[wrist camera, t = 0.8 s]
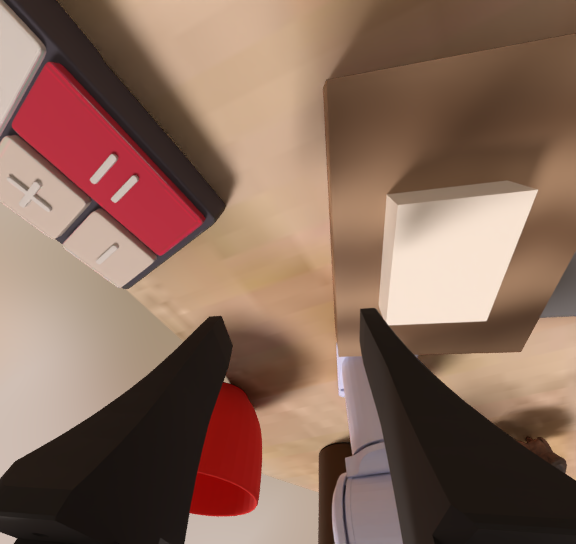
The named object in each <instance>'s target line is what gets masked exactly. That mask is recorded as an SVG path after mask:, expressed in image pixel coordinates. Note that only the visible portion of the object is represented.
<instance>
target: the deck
mask: <svg viewBox="0 0 576 544" xmlns="http://www.w3.org/2000/svg"><path fill="white" fill-rule="evenodd" d="M323 97H324V117H325V136H326V156H327V176H328V195H329V215H330V235H331V255H332V274H333V294H334V314H335V330H336V338H337V346H338V355H339V357H353V356H362V354H361V348H360V342H359V337H360V309H363V308H375V309H377V310H378V312H379V313H380V315H381V316H382V314H381V311H380V308H379V292H380V279H381V265H382V252H383V238H384V224H385V211H386V197H387V194H395V193H404V192H412V191H421V190H429V189H438V188H447V187H455V186H464V185H472V184H481V183H490V182H498V181H507V180H508V181H511V182H514V183H518V184H521V185H524V186H528V187H531V188H534V189H538V192H537V194H536V197H535V199H534V202H533V204H532V207H531V210H530V212H529V215H528V217H527V220H526V222H525V225H524V227H523V230H522V232H521V235H520V237H519V240H518V243H517V245H516V248H515V250H514V253H513V255H512V258H511V260H510V263H509V265H508V268H507V271H506V273H505V276H504V278H503V281H502V283H501V286H500V288H499V291H498V293H497V296H496V299H495V301H494V304H493V306H492V309H491V311H490V314H489V316H488V319H487V321H479V322H456V323H433V324H410V325H389V326H390V328H391V329H392V330H393V331H394V333H395V334H396V335H397V336H398V337H399V338H400V340H401V341H402V342H403V343H404V344H405V345H406V346H407V348H408V349H409V350H410V351H411V352H412V353H413V354H414V355H428V354H466V353H503V352H521V351H522V349H523V347H524V345H525V343H526V342H527V340H528V338H529V336H530V334H531V332H532V331H533V329H534V327H535V325H536V323H537V321H538V319H539V318H540V316H541V314H542V312H543V310H544V308H545V307H546V305H547V303H548V301H549V299H550V297H551V295H552V294H553V292H554V290H555V288H556V286H557V284H558V283H559V281H560V279H561V277H562V275H563V273H564V272H565V270H566V268H567V266H568V264H569V262H570V260H571V259H572V257H573V255H574V253H575V251H576V33H574V34H569V35H563V36H558V37H553V38H547V39H542V40H537V41H531V42H526V43H521V44H515V45H510V46H504V47H499V48H494V49H488V50H483V51H478V52H472V53H467V54H462V55H456V56H451V57H446V58H440V59H435V60H430V61H424V62H419V63H413V64H408V65H403V66H397V67H392V68H387V69H381V70H376V71H371V72H365V73H360V74H355V75H349V76H344V77H338V78H333V79H328V80H326V82H325V85H324V88H323Z"/></svg>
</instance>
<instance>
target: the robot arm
mask: <svg viewBox="0 0 576 544" xmlns="http://www.w3.org/2000/svg"><path fill="white" fill-rule="evenodd" d="M359 342H360V348H361V354H362V356H353V357H339V355H338V346H337V342H336V351H337V371H338V390H339V396H341V397H345V401H346V409H347V417H348V425H349V433H350V441H351V449H352V456H350V457H346V458H345V463H346V473H343V474H341V475H340V477H339V479H338V481H337V484H336V487H335V490H334V494H333V500H332V524H333V534H334V541H335V544H576V481H575V480H574V479H572V478H571V477H569V476H568V475H566V474H565V473H563V472H562V471H560V470H559V469H557V468H556V467H554V466H553V465H551V464H550V463H548V462H547V461H545V460H544V459H542V458H541V457H539V456H538V455H536V454H535V453H533V452H532V451H530V450H529V449H527V448H526V447H524V446H523V445H522V444H520V443H519V442H517V441H516V440H515V439H513V438H512V437H510V436H509V435H508V434H506V433H505V432H504V431H502V430H501V429H499V428H498V427H497V426H495V425H494V424H493V423H492V422H490V421H489V420H488V419H487V418H485V417H484V416H483V415H481V414H480V413H479V412H478V411H476V410H475V409H474V408H472V407H471V406H470V405H469V404H467V403H466V402H465V401H464V400H462V399H461V398H460V397H459V396H458V395H457V394H455V393H454V392H453V391H452V390H451V389H449V388H448V387H447V386H446V385H445V384H444V383H443V382H442V381H441V380H439V379H438V378H437V377H436V376H435V375H434V374H433V373H432V372H431V371H430V370H429V369H428V368H427V367H426V366H425V365H424V364H423V363H422V362H421V361H420V360H419V359H418V355H414V354H413V353H412V352H411V351H410V350H409V349H408V348H407V346H406V345H405V344H404V343H403V342H402V341H401V340H400V338H399V337H398V336H397V335H396V334H395V333H394V331H393V330H392V329H391V328H390V326H389V325H388V324H387V323H386V321H385V320H384V319H383V317H382V316H381V315H380V313H379V312H378V310H377V309H375V308H363V309H360V337H359ZM232 347H233V345H232V343H231V340H230V337H229V335H228V332H227V329H226V327H225V324H224V321H223V319H222V316H213V317H209V318H207V319H206V320H205V321H204V322H203V323H202V324H201V325H200V326H199V327H198V328H197V329H196V330H195V331H194V332H193V333H192V334H191V335H190V336H189V337H188V338H187V339H186V340H185V341H184V342H183V343H182V344H181V345H180V346H179V347H178V348H177V349H176V350H175V351H174V352H173V353H172V354H171V355H169V356H168V357H167V358H166V359H165V360H164V361H163V362H162V363H161V364H159V365H158V366H157V367H156V368H155V369H154V370H153V371H152V372H150V373H149V374H148V375H147V376H146V377H144V378H143V379H142V380H141V381H139V382H138V383H137V384H136V385H134V386H133V387H132V388H130V389H129V390H128V391H126V392H125V393H124V394H122V395H121V396H120V397H118V398H117V399H115V400H114V401H113V402H111V403H110V404H108V405H107V406H105V407H104V408H103V409H101V410H100V411H98V412H97V413H95V414H94V415H92V416H91V417H89V418H88V419H86V420H85V421H83V422H82V423H80V424H78V425H77V426H75V427H74V428H72V429H70V430H69V431H67V432H66V433H64V434H62V435H61V436H59V437H57V438H56V439H54V440H52V441H50V442H48V443H47V444H45V445H43V446H41V447H40V448H38V449H36V450H35V451H33V452H31V453H29V454H27V455H26V456H24V457H22V458H20V459H18V460H17V461H15V462H14V463H13V464H12V465H11V467H10V468H9V469H8V470H7V471H6V472H5V474H4V475H3V476H2V477H1V478H0V532H2V533H5V534H7V535H10V536H12V537H15V538H17V540H16V541H15V543H14V544H184V542H185V536H186V530H187V524H188V518H189V513H190V507H191V502H192V497H193V492H194V486H195V481H196V476H197V472H198V467H199V463H200V458H201V454H202V449H203V445H204V441H205V437H206V433H207V429H208V425H209V422H210V419H211V415H212V412H213V410H214V407H215V404H216V401H217V398H218V395H219V392H220V390H221V387H222V384H223V381H224V378H225V375H226V372H227V369H228V366H229V361H230V357H231V352H232Z"/></svg>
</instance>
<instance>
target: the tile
mask: <svg viewBox="0 0 576 544" xmlns="http://www.w3.org/2000/svg"><path fill="white" fill-rule="evenodd" d="M537 192H538V189H534V188H531V187H528V186H524V185H521V184H518V183H514V182H511V181H508V180H507V181H498V182H490V183H481V184H472V185H464V186H455V187H447V188H438V189H429V190H421V191H412V192H404V193H395V194H387V197H386V211H385V224H384V238H383V252H382V265H381V279H380V292H379V308H380V311H381V314H382V317H383V319H384V320H385V321H386V323H387V324H388V325H410V324H433V323H456V322H479V321H487V319H488V316H489V314H490V311H491V309H492V306H493V304H494V301H495V299H496V296H497V293H498V291H499V288H500V286H501V283H502V281H503V278H504V276H505V273H506V271H507V268H508V265H509V263H510V260H511V258H512V255H513V253H514V250H515V248H516V245H517V243H518V240H519V237H520V235H521V232H522V230H523V227H524V225H525V222H526V220H527V217H528V215H529V212H530V210H531V207H532V204H533V202H534V199H535V197H536V194H537Z"/></svg>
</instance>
